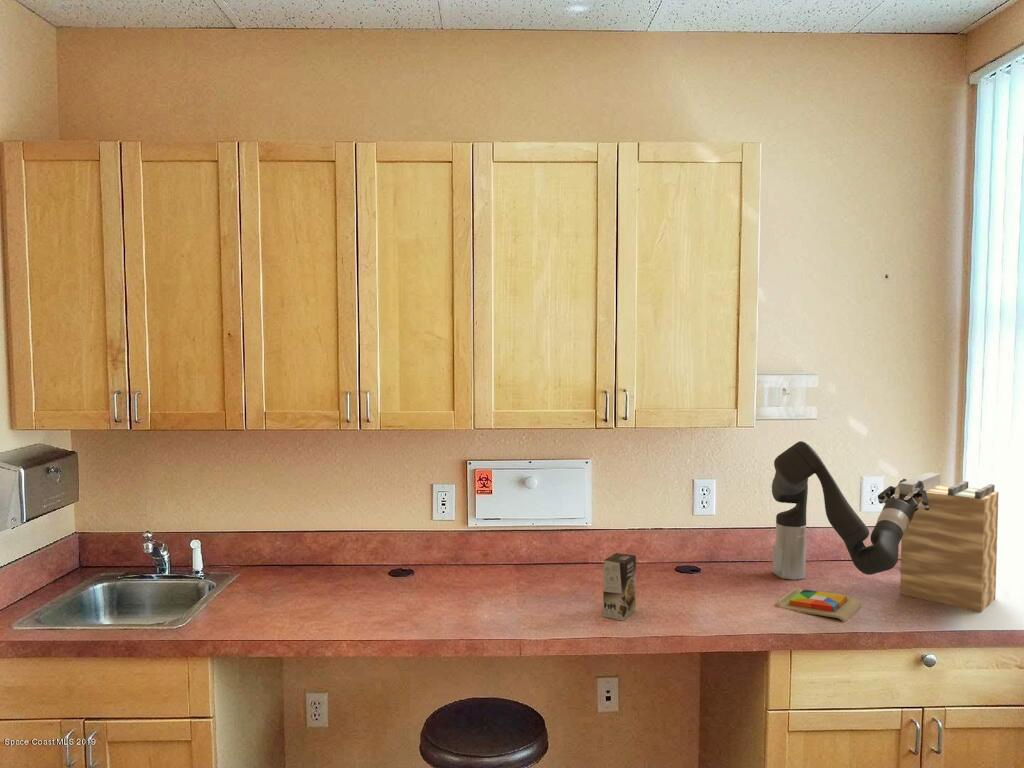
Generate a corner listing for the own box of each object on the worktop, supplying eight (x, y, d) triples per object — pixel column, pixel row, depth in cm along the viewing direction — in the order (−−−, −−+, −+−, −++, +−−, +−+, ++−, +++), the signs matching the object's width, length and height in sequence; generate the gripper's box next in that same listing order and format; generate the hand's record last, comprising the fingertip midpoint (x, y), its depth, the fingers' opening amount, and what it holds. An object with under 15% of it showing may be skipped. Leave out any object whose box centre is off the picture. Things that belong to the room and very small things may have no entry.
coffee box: (623, 621, 193) (624, 563, 192) (602, 616, 197) (602, 559, 196) (636, 611, 201) (636, 555, 200) (615, 606, 204) (615, 551, 204)
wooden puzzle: (796, 592, 217) (796, 581, 217) (863, 607, 205) (863, 595, 205) (775, 608, 204) (775, 596, 204) (845, 624, 192) (845, 612, 192)
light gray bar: (912, 496, 202) (912, 484, 202) (899, 495, 205) (899, 483, 204) (940, 484, 220) (940, 473, 220) (927, 483, 222) (927, 472, 222)
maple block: (981, 612, 199) (984, 492, 198) (900, 593, 214) (902, 482, 213) (995, 598, 210) (998, 485, 209) (917, 581, 226) (920, 476, 224)
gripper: (920, 513, 191) (938, 474, 201) (865, 505, 201) (885, 468, 211) (924, 534, 194) (941, 495, 204) (869, 525, 204) (889, 488, 214)
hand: (912, 482), depth 207 cm, fingers closed on light gray bar, 3 cm apart
